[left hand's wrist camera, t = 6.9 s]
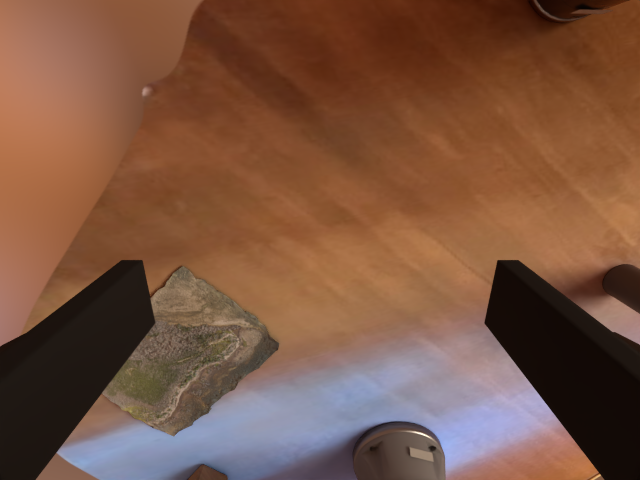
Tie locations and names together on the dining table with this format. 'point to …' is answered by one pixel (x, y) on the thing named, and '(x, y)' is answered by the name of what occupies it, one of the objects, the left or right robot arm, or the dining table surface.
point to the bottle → (624, 285)
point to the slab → (189, 355)
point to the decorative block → (207, 474)
